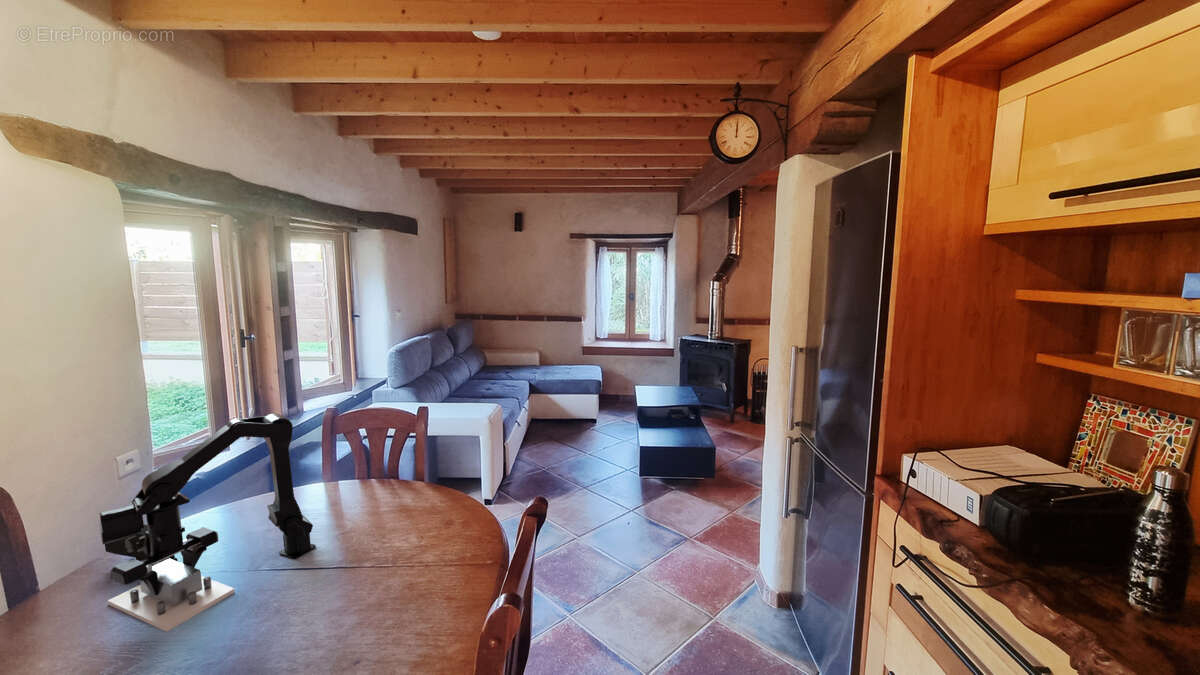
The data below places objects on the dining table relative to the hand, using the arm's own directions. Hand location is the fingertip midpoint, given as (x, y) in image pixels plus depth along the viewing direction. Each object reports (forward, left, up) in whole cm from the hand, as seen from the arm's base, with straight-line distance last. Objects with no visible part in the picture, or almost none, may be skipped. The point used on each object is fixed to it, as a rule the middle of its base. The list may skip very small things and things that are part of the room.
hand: (171, 586), depth 115 cm
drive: (0, 0, -1) cm, 1 cm away
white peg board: (0, 0, -3) cm, 3 cm away
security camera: (+21, -5, -3) cm, 21 cm away
